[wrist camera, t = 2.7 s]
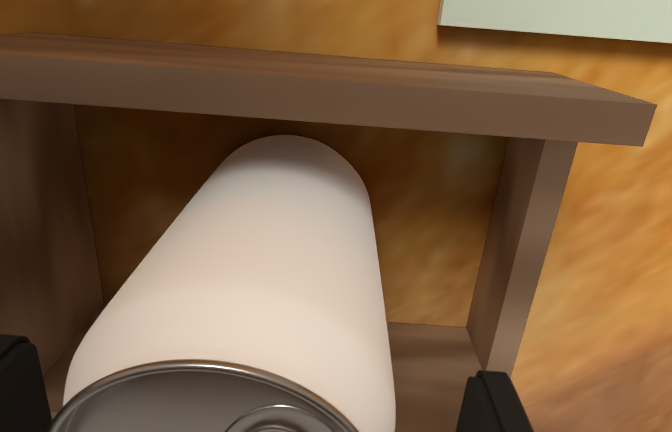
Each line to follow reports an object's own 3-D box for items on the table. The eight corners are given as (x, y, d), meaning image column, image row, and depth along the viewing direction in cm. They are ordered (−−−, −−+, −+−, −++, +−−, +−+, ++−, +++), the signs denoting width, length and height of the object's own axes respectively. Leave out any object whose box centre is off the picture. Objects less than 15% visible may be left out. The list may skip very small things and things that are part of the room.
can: (400, 234, 19) (476, 540, 8) (271, 304, 21) (187, 645, 10) (311, 97, 17) (250, 261, 6) (174, 187, 18) (-79, 452, 7)
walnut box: (33, 32, 16) (-127, 45, 11) (552, 72, 16) (657, 104, 11) (84, 319, 21) (-8, 429, 16) (483, 347, 21) (532, 465, 16)
